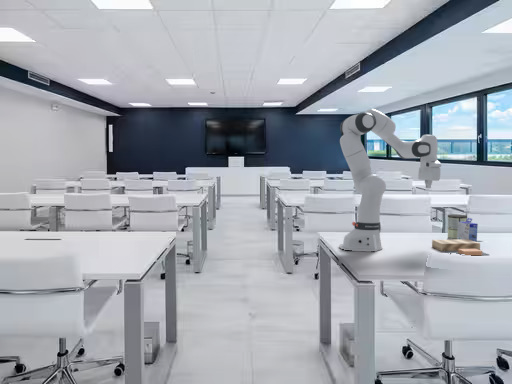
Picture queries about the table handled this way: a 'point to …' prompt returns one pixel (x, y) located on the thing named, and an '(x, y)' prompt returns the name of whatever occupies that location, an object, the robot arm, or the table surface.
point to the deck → (455, 244)
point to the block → (470, 251)
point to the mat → (458, 253)
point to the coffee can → (454, 225)
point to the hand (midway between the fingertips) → (428, 188)
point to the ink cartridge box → (467, 230)
